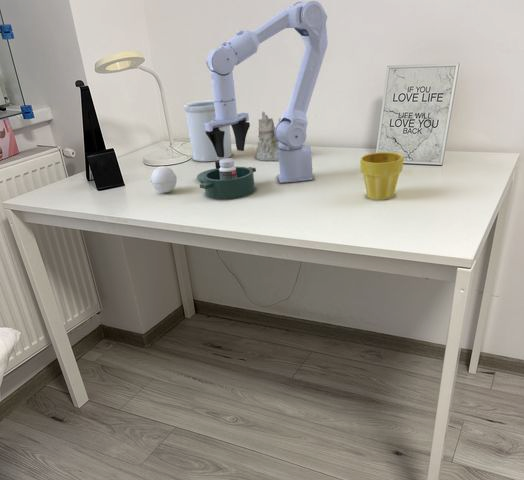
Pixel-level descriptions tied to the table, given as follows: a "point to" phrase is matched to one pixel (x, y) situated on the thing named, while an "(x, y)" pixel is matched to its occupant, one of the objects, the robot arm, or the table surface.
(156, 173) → the white rounded ovoid
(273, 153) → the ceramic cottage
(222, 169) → the pill bottle
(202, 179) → the lid
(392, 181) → the flower pot
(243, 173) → the pot
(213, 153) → the utensil holder
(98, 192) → the table surface
